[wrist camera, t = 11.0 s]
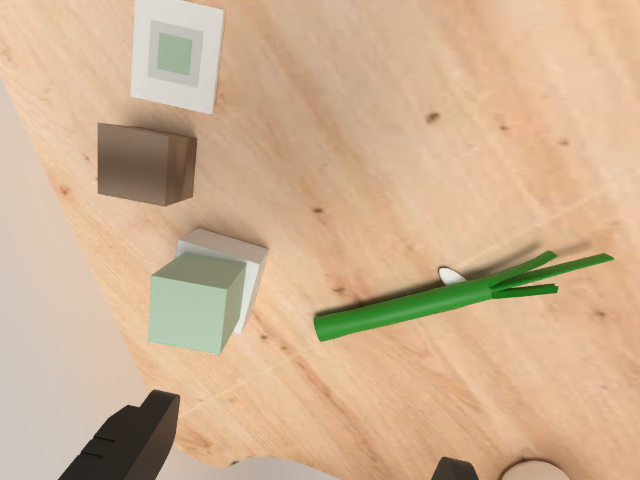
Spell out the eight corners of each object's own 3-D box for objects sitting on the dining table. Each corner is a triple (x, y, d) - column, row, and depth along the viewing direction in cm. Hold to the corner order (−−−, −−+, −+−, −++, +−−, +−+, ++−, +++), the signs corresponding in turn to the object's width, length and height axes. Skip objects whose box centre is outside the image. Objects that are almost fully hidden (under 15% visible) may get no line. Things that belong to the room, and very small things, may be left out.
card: (139, -8, 30) (134, -12, 29) (225, 12, 30) (223, 9, 29) (133, 97, 32) (128, 96, 31) (213, 115, 32) (210, 114, 32)
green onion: (324, 334, 40) (596, 269, 34) (322, 350, 36) (620, 282, 31) (312, 298, 38) (590, 226, 33) (308, 312, 35) (615, 235, 30)
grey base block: (199, 227, 36) (178, 239, 31) (269, 248, 36) (259, 264, 31) (185, 291, 38) (164, 312, 33) (252, 311, 38) (240, 334, 33)
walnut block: (138, 127, 33) (97, 122, 27) (197, 138, 33) (168, 136, 27) (137, 186, 35) (97, 193, 29) (192, 196, 35) (164, 206, 29)
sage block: (184, 252, 31) (151, 275, 26) (246, 263, 31) (227, 289, 26) (181, 307, 33) (148, 341, 27) (239, 318, 33) (219, 354, 27)
